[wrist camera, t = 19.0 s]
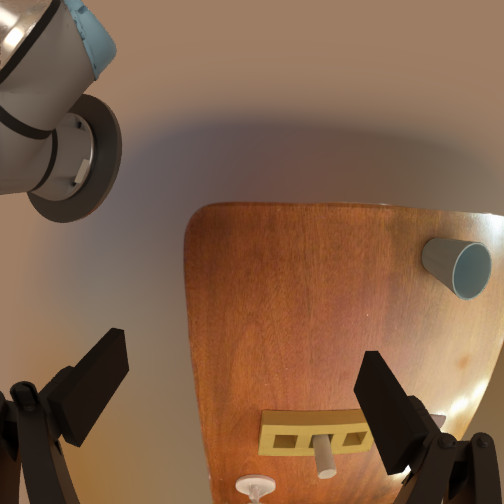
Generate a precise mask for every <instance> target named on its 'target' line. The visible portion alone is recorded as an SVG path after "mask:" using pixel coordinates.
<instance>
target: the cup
mask: <svg viewBox="0 0 504 504" xmlns="http://www.w3.org/2000/svg"><path fill="white" fill-rule="evenodd" d="M422 263H423V266H424V268H425V269H426V270H427V271H429V272H430V273H431V274H432V275H433V276H435V277H436V278H437V279H438V280H439V281H441V282H442V283H443V284H444V285H445V286H447V287H448V288H449V289H450V290H451V291H452V292H453V293H454V294H455V295H457V296H458V297H459V298H460V299H462V300H471V299H474V298H476V297H477V296H478V295H479V294H480V293H481V292H482V291H483V290H484V288H485V287H486V285H487V283H488V281H489V278H490V275H491V269H492V260H491V255H490V252H489V250H488V248H487V247H486V246H485V245H484V244H482V243H479V242H471V241H462V240H453V239H444V238H434V239H431V240H430V241H428V242H427V243H426V245H425V246H424V249H423V251H422Z"/></svg>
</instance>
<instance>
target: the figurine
mask: <svg viewBox="0 0 504 504" xmlns="http://www.w3.org/2000/svg"><path fill="white" fill-rule="evenodd" d="M275 487H276V483H275V481H274V480H273V479H272V478H270V477H268V476H265V475H257V474H253V475H246V476H242V477H240V478H239V479H237V481H236V489H237V490H238V491H239V492H241V493H244V494H247V495H249V497H250V498H249V499H251V501H252V503H248V504H262V503H258V502H259V498H260V497H262V496H264V495H266V494H269V493H271V492H272V491H274V490H275ZM259 495H261V496H259ZM258 496H259V497H258ZM244 504H245V503H244Z"/></svg>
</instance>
